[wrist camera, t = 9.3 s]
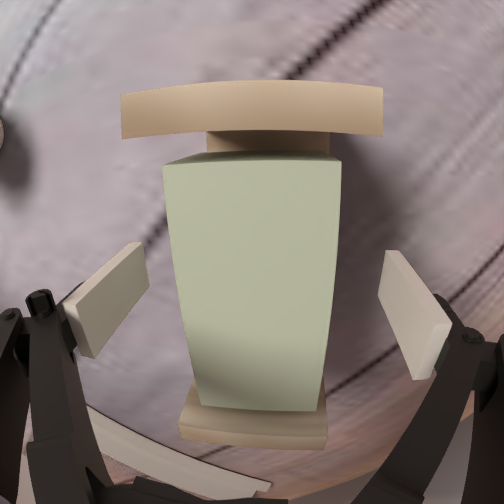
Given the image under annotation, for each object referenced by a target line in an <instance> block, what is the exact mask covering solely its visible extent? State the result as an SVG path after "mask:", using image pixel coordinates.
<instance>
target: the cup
mask: <svg viewBox="0 0 504 504" xmlns="http://www.w3.org/2000/svg"><path fill="white" fill-rule="evenodd" d="M3 139H4V128H3V124H2V121H1V120H0V149H1V147H2V144H3Z"/></svg>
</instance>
